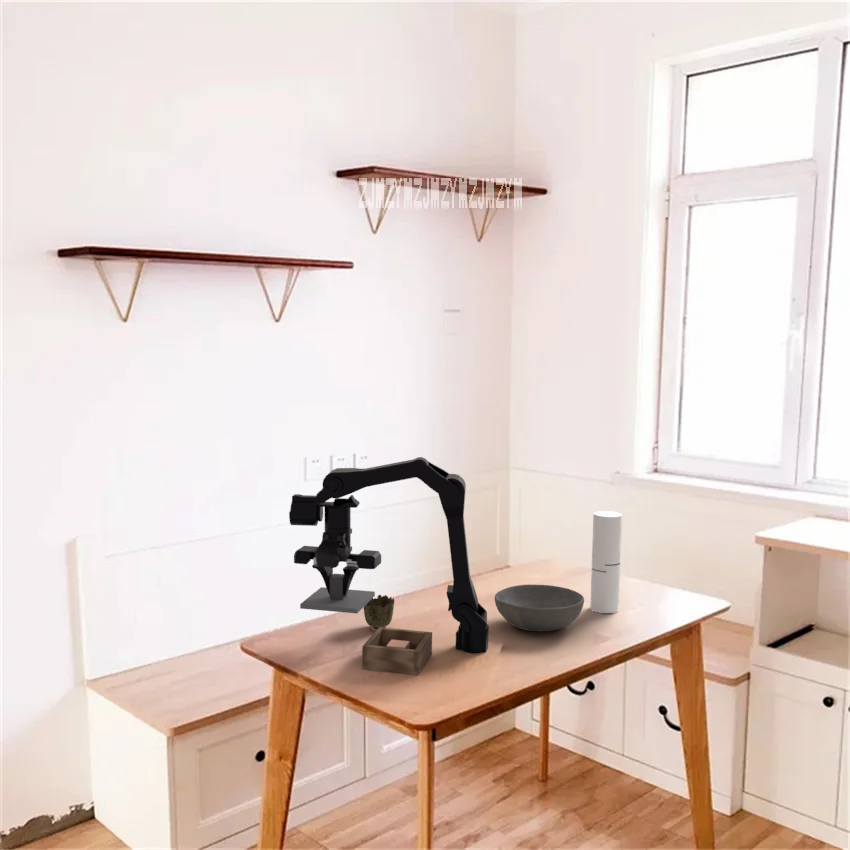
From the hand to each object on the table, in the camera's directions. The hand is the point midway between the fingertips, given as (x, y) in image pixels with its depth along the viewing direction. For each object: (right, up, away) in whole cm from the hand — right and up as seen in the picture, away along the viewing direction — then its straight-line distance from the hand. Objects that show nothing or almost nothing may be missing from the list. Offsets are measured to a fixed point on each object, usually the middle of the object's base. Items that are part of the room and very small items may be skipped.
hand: (337, 594), depth 197 cm
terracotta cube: (+14, -12, -9) cm, 21 cm away
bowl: (+47, -11, +17) cm, 51 cm away
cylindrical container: (+66, -10, +31) cm, 73 cm away
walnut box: (+14, -13, -9) cm, 21 cm away
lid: (0, -2, +1) cm, 2 cm away
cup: (+8, -11, +12) cm, 18 cm away
